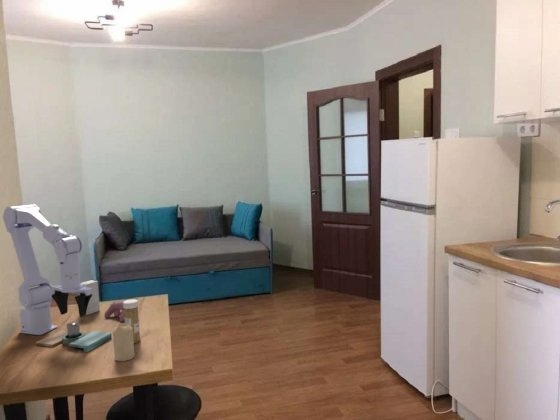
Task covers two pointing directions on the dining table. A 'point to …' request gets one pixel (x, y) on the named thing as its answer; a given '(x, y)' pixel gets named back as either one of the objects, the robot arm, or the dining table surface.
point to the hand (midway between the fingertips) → (73, 314)
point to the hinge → (76, 340)
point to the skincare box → (94, 301)
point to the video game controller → (115, 310)
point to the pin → (73, 330)
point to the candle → (123, 342)
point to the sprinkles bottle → (132, 317)
